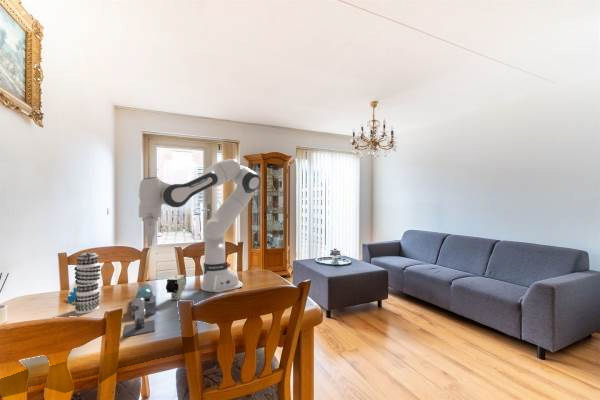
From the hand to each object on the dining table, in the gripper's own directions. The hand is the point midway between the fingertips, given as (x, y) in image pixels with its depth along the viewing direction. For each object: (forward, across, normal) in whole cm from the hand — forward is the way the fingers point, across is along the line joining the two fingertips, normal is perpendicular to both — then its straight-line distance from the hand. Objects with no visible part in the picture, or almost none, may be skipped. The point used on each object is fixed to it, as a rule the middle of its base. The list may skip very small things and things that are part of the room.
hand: (149, 244), depth 122 cm
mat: (+29, -19, +3) cm, 35 cm away
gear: (+30, +28, +30) cm, 50 cm away
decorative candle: (+29, +12, +24) cm, 40 cm away
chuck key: (+29, -19, +3) cm, 35 cm away
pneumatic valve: (+29, +8, -12) cm, 33 cm away
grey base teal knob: (+29, +2, +2) cm, 29 cm away
